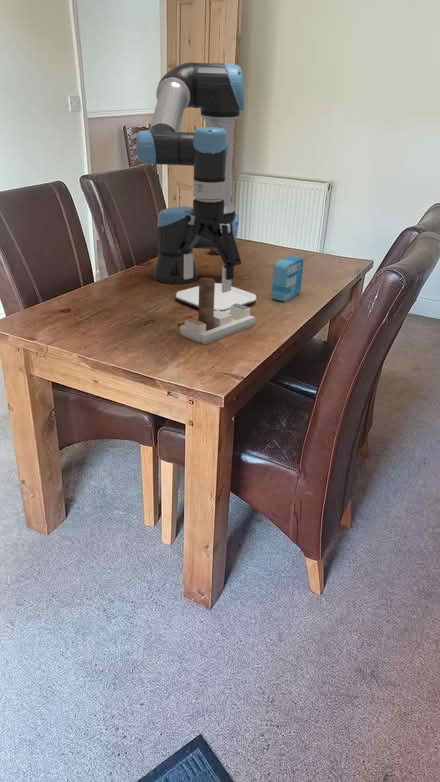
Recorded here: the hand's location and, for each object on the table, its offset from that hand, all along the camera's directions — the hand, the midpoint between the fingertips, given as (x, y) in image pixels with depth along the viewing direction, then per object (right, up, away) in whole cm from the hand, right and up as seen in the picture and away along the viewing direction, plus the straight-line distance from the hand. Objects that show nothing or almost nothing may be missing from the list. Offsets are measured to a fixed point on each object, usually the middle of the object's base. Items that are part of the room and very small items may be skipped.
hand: (206, 284), depth 145 cm
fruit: (+2, +27, +81) cm, 86 cm away
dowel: (0, -11, +6) cm, 13 cm away
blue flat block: (+25, +3, +37) cm, 44 cm away
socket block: (+3, -11, +9) cm, 14 cm away
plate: (+2, 0, +31) cm, 31 cm away
